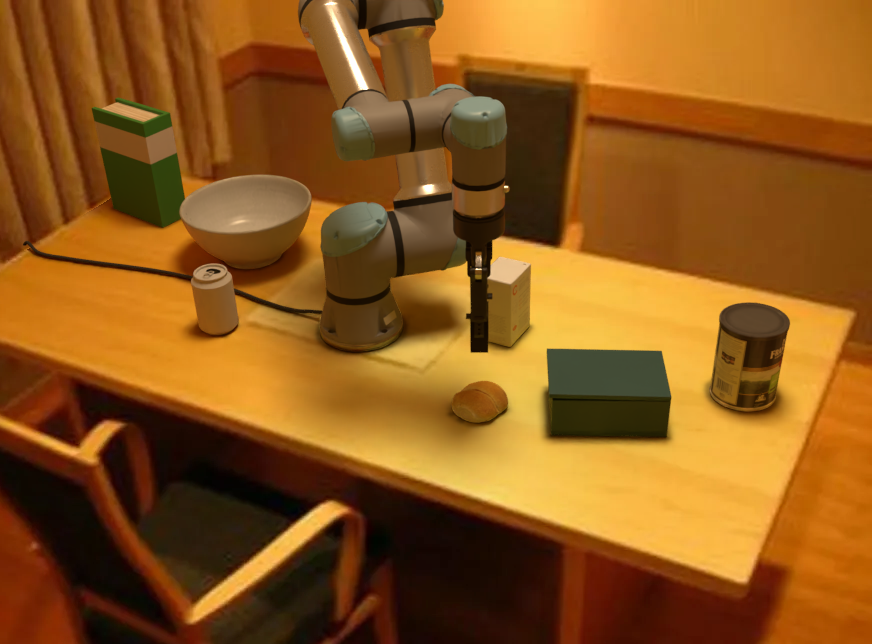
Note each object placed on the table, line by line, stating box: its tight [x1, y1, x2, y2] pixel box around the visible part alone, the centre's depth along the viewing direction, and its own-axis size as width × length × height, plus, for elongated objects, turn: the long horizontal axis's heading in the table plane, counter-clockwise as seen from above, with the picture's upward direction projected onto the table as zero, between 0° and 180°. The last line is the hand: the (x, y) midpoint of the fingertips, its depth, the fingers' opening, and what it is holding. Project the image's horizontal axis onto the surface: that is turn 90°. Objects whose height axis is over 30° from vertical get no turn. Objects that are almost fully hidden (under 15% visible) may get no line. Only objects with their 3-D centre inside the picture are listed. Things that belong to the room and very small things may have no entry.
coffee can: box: [709, 302, 791, 412], centre depth 170 cm, size 10×10×14 cm
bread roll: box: [450, 380, 509, 424], centre depth 174 cm, size 8×9×4 cm
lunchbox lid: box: [546, 348, 672, 402], centre depth 168 cm, size 18×13×1 cm
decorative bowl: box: [179, 174, 313, 270], centre depth 221 cm, size 27×27×12 cm
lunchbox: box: [547, 387, 672, 438], centre depth 170 cm, size 18×13×7 cm
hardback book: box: [91, 96, 186, 229], centre depth 238 cm, size 18×7×24 cm, turn 49°
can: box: [190, 262, 240, 336], centre depth 199 cm, size 8×8×12 cm
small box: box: [487, 256, 532, 348], centre depth 190 cm, size 8×6×13 cm
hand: (479, 344), depth 168 cm, fingers open, 3 cm apart
